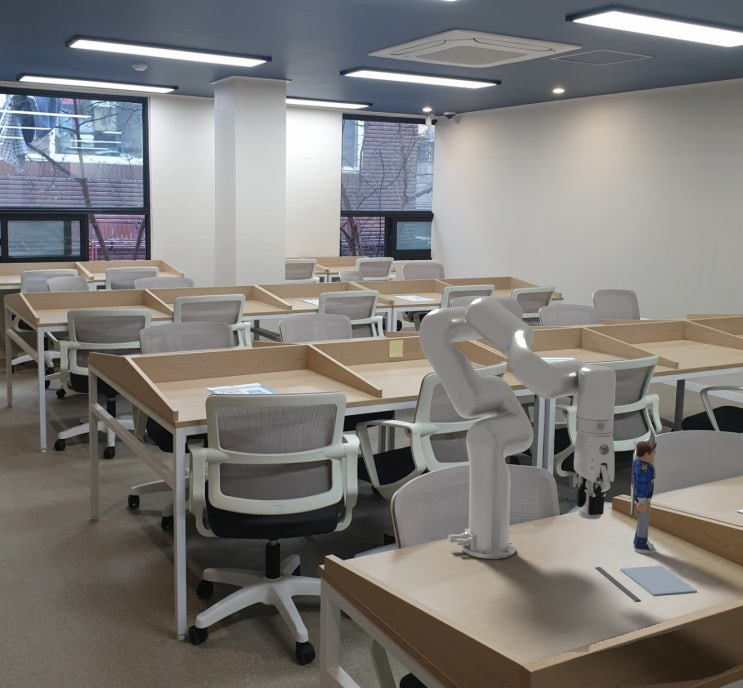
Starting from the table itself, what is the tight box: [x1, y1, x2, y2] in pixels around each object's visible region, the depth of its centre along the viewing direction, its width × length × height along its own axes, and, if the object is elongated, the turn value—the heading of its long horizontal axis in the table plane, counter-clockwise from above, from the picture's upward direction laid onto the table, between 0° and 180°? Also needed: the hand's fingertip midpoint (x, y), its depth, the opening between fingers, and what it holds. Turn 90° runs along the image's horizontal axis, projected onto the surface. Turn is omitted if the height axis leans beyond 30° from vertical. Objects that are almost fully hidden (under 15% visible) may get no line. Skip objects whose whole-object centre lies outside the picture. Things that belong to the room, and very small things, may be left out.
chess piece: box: [578, 480, 602, 520], centre depth 179 cm, size 5×5×8 cm
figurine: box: [630, 427, 658, 554], centre depth 201 cm, size 10×6×30 cm, turn 168°
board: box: [594, 565, 698, 602], centre depth 184 cm, size 15×18×1 cm
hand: (590, 509), depth 180 cm, fingers closed on chess piece, 4 cm apart
